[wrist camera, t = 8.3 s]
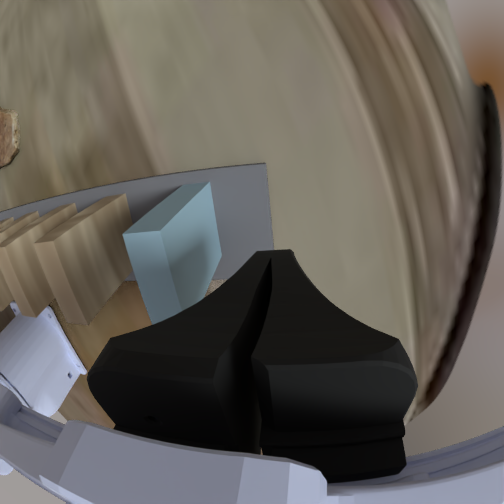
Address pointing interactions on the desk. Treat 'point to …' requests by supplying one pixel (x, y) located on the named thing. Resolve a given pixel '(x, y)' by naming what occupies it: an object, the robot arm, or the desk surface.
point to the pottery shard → (9, 136)
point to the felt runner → (224, 200)
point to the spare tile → (175, 251)
